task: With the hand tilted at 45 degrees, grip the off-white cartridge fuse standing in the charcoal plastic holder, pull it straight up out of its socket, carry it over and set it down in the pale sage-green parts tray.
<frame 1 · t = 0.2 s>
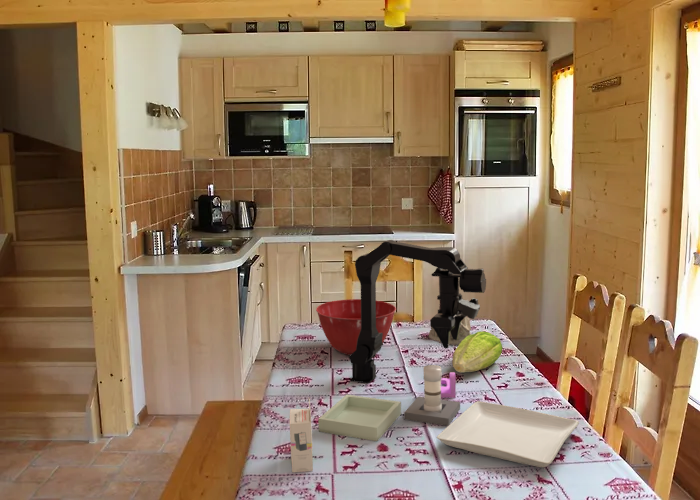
hand: (450, 343, 194), 14 cm above the table, tool pointing down, fingers open, 9 cm apart
bracket: (444, 390, 198), on the table
fuse holder: (432, 414, 180), on the table
ceramic cottage: (450, 339, 250), on the table
lettuce: (474, 368, 216), on the table
square plate: (509, 442, 163), on the table
fuse: (432, 391, 179), in the fuse holder
mixing bowl: (356, 350, 239), on the table
ink box: (302, 464, 153), on the table
parts tray: (361, 422, 175), on the table
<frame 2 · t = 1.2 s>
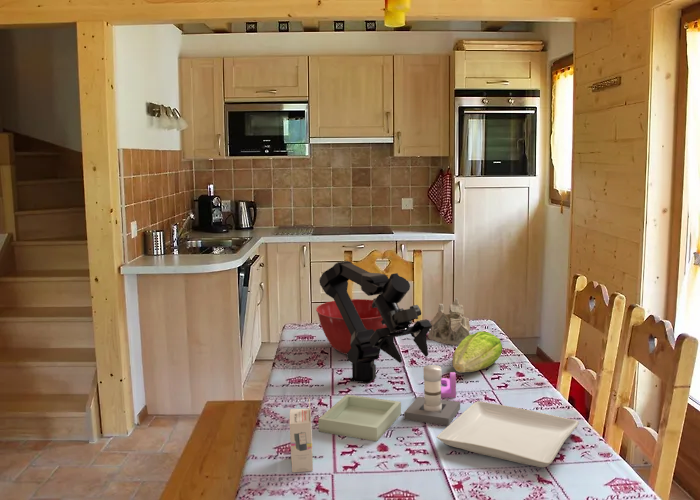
hand: (414, 358, 185), 13 cm above the table, tool tilted 45°, fingers open, 9 cm apart
nothing on the table moved.
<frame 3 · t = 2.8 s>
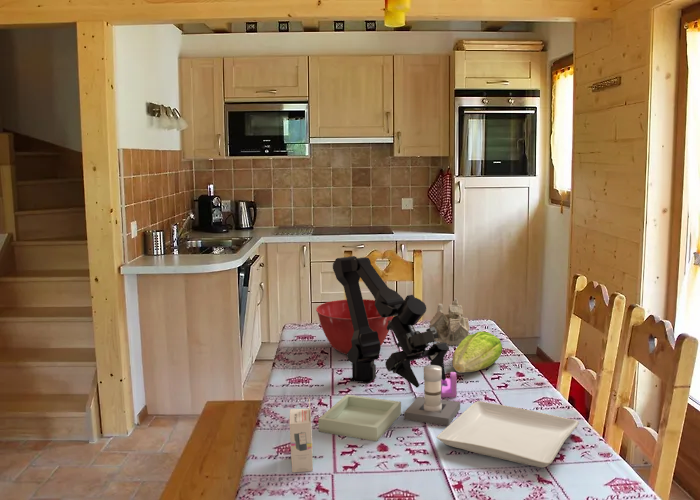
hand: (431, 383, 179), 9 cm above the table, tool tilted 45°, fingers open, 9 cm apart
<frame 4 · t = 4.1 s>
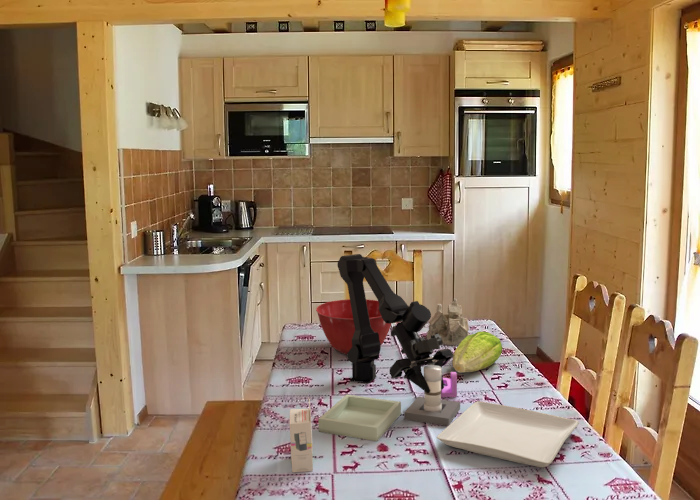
hand: (436, 390, 178), 7 cm above the table, tool tilted 45°, fingers closed on fuse, 4 cm apart
fuse: (432, 391, 179), in the fuse holder, touching gripper
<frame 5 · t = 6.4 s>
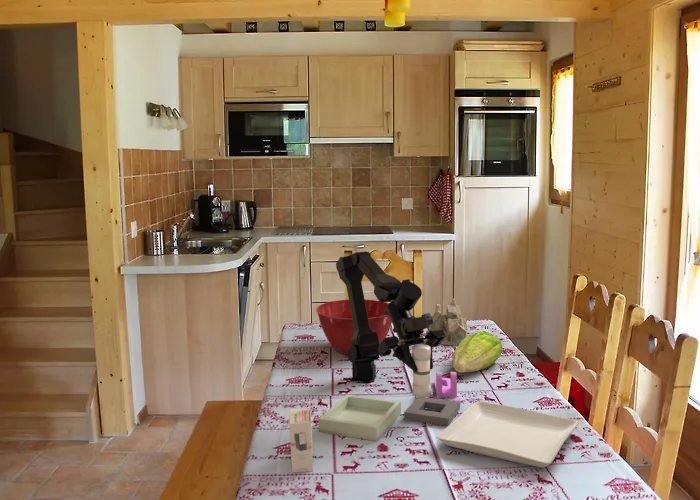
hand: (424, 370, 175), 13 cm above the table, tool tilted 45°, fingers closed on fuse, 4 cm apart
fuse: (421, 370, 176), point 13 cm above the table, touching gripper
when the fingers open (9 cm above the table, at t = 8.8 s): fuse drops 1 cm, resting on parts tray.
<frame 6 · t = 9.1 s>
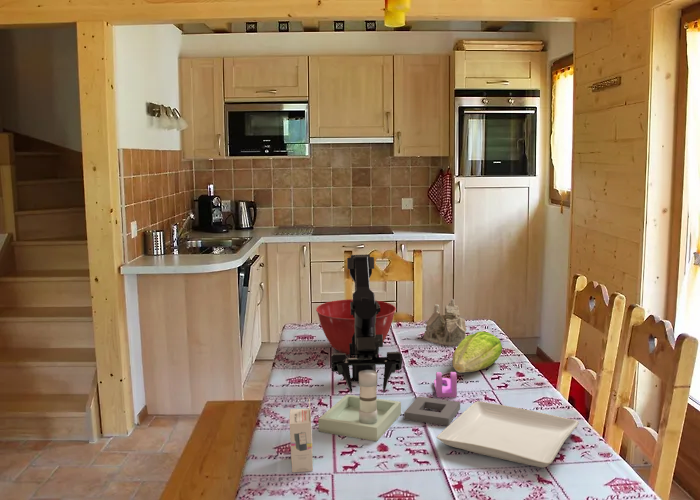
hand: (367, 391, 172), 9 cm above the table, tool tilted 45°, fingers open, 8 cm apart
fuse: (368, 396, 173), in the parts tray, point 7 cm above the table
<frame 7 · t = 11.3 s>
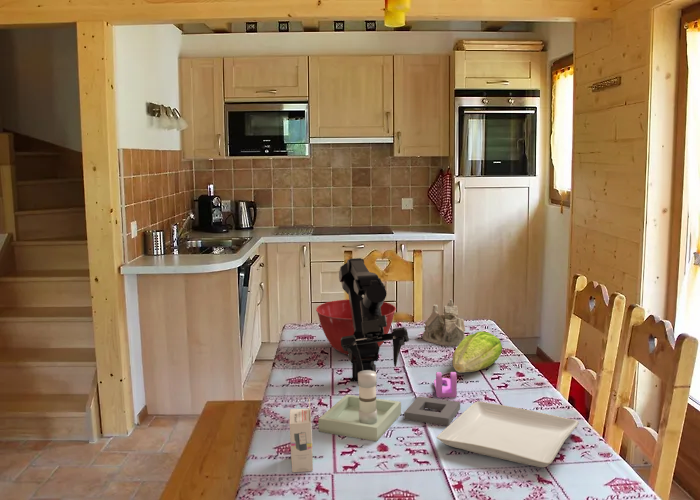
hand: (378, 369, 183), 11 cm above the table, tool tilted 35°, fingers open, 9 cm apart
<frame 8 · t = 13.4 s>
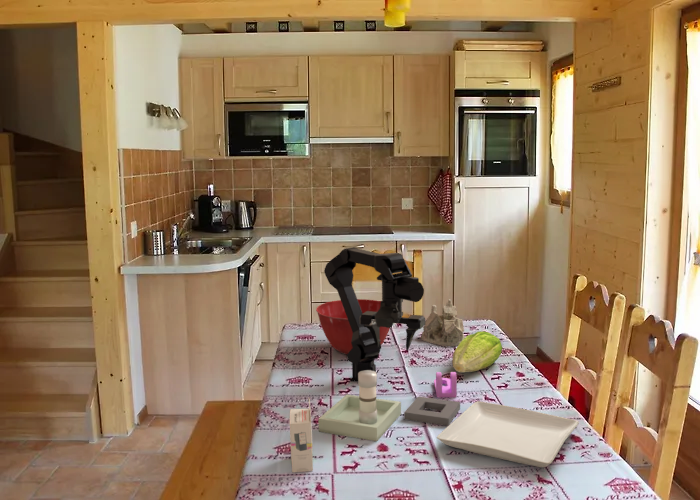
hand: (392, 348, 196), 13 cm above the table, tool pointing down, fingers open, 9 cm apart
at the end: fuse inside the target area on the parts tray (2.0 cm from its centre), point 7.3 cm above the parts tray's base; the gripper is holding nothing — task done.
